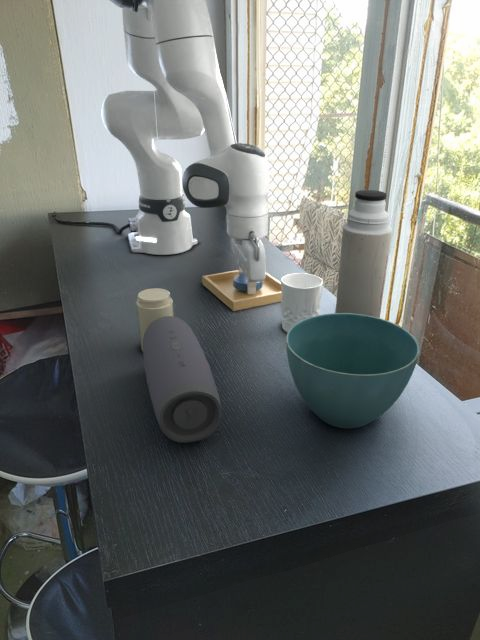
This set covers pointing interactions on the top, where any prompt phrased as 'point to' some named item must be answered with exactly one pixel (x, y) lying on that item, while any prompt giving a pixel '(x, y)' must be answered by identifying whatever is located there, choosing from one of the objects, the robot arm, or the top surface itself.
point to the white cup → (299, 298)
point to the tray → (241, 299)
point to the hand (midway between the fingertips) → (247, 286)
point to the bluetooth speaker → (180, 381)
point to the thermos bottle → (364, 255)
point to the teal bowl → (350, 366)
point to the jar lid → (243, 282)
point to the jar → (152, 308)
